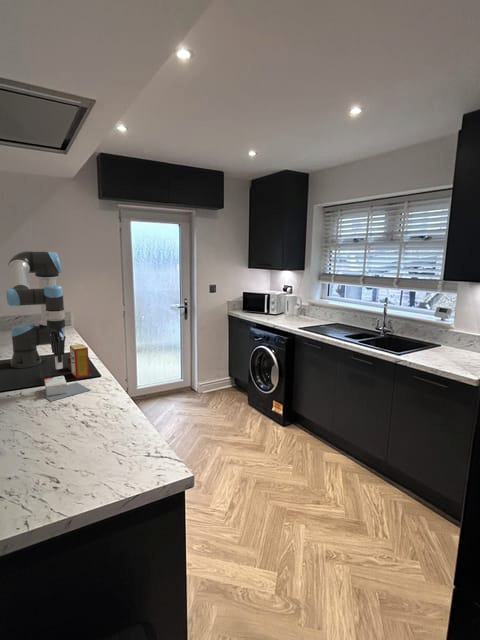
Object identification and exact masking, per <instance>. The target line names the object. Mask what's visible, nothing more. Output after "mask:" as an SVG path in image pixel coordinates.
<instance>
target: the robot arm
mask: <svg viewBox="0 0 480 640" xmlns="http://www.w3.org/2000/svg"><path fill="white" fill-rule="evenodd" d="M7 269H8V272H9V273H10V284H11V289H7V290H6V292H5V293H6V294H5V295H6V303H7V305H8V306H10V307H11V306H14V307H21V306H33V305H34V306H36V305H37V306H38V305H40V315H41V320H40V321H39V322H38V325H36V324H35V323H33V322H31V323H22V324H18V325H15V326H13V327H12V328H11V335H10V336H11V340H12V341H11V343H12V352H13V353H12V356H11V359H10V367H11V368H14V369H26V368H32V367H36V366H40V365H41V364H42V357H41V355H40V354H39V351H38V348H37V347H38V346H45V345H47V346H48V345H50V347H51V353H52V354H53V355H54V363H55V365H54V366H55V370H61V369H63V368H64V367H63V366H64V364H63V363H64V362H63V355H65V348H66V347H65V346H66V335H65V327H66V320H65V318H66V317H65V316H66V314H65V308H64V307H65V305H64V290H63V286H61V285H57V278H59V277H60V276H59V274H61V273H62V267H61V262H60V258H59V255H58V253H57V252H54V251H28V250H27V251H22V252H18V253H17V254H15V255H14V256H12V257H11V258H10V259H9V262H8V264H7ZM29 274H34V276H35V278H37V279H38V285H39V286H38V287H39V288H30V279H29Z"/></svg>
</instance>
